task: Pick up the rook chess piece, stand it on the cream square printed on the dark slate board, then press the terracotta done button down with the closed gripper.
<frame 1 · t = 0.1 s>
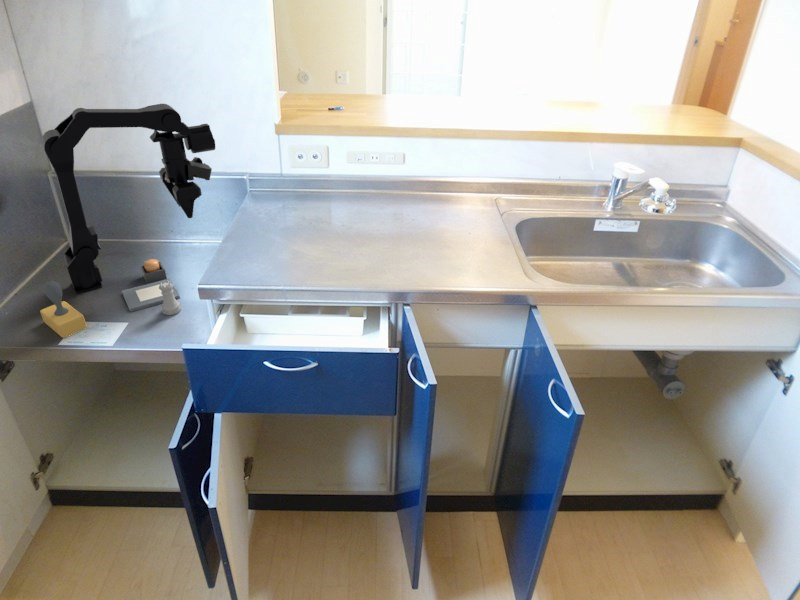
hand: (185, 211, 154), 15 cm above the countertop, tool pointing down, fingers open, 9 cm apart
rubber stamp: (66, 326, 134), on the countertop
done button: (151, 266, 151), point 4 cm above the countertop, slide at 0.0 cm
button housing: (154, 277, 153), on the countertop
rook chess piece: (172, 311, 139), on the countertop
slate board: (150, 295, 145), on the countertop
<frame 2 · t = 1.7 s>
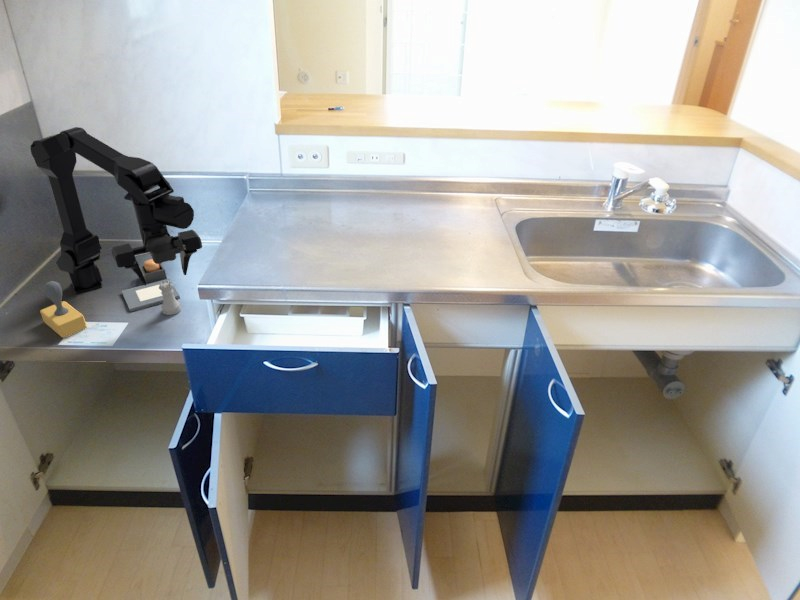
hand: (165, 279, 134), 9 cm above the countertop, tool pointing down, fingers open, 9 cm apart
nothing on the countertop moved.
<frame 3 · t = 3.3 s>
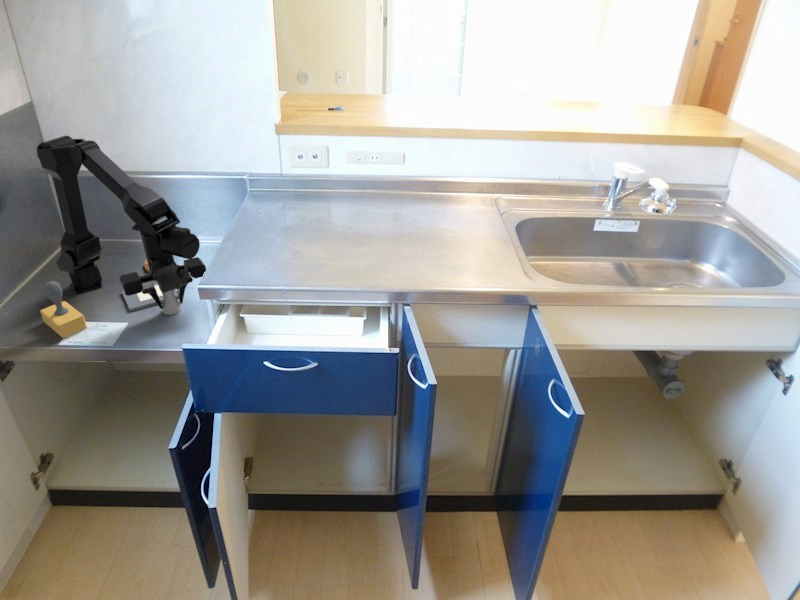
hand: (171, 305, 138), 2 cm above the countertop, tool pointing down, fingers closed on rook chess piece, 4 cm apart
rook chess piece: (172, 311, 139), on the countertop, touching gripper
everything else where it was.
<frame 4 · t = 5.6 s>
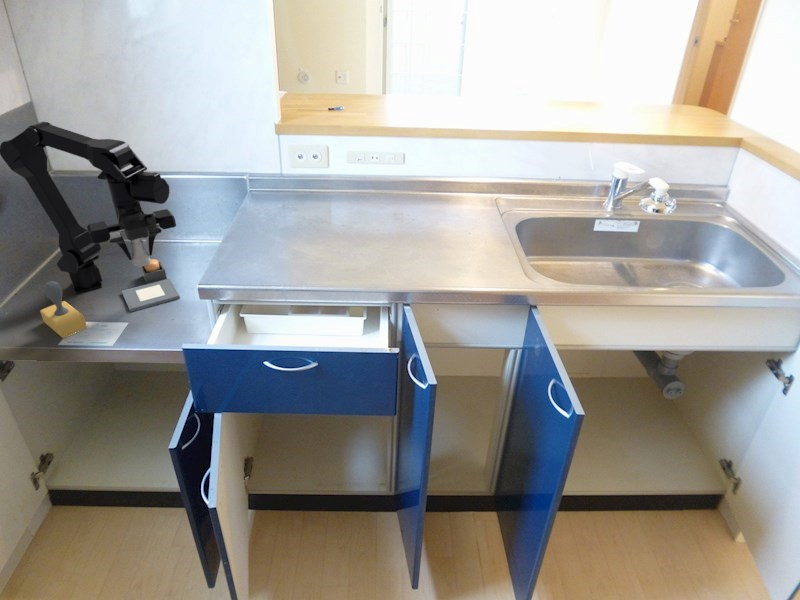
hand: (140, 257, 139), 11 cm above the countertop, tool pointing down, fingers closed on rook chess piece, 4 cm apart
rook chess piece: (142, 263, 140), point 9 cm above the countertop, touching gripper
everything else where it was.
when the fingers open (4 cm above the countertop, at t = 7.6 s): rook chess piece drops 1 cm, resting on slate board.
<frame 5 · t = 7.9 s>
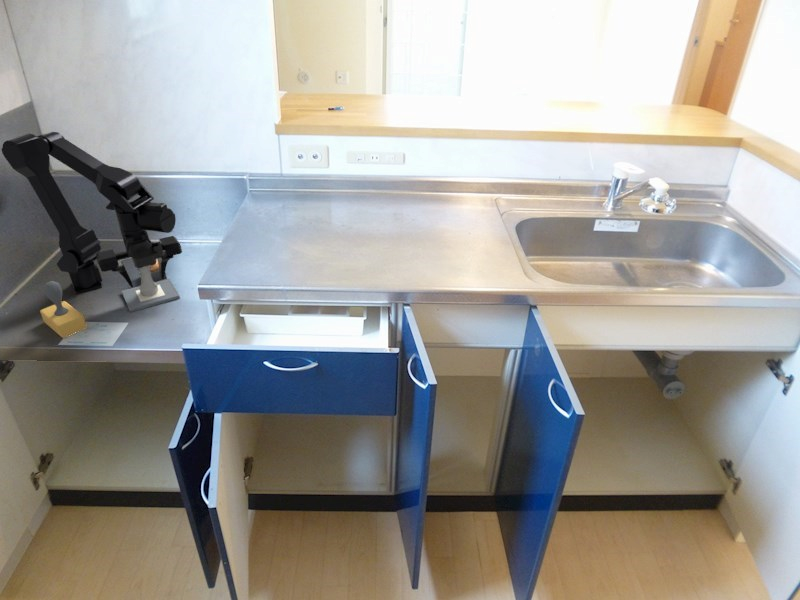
hand: (147, 282, 143), 4 cm above the countertop, tool pointing down, fingers open, 7 cm apart
rook chess piece: (149, 293, 144), point 1 cm above the countertop, touching slate board
everything else where it was.
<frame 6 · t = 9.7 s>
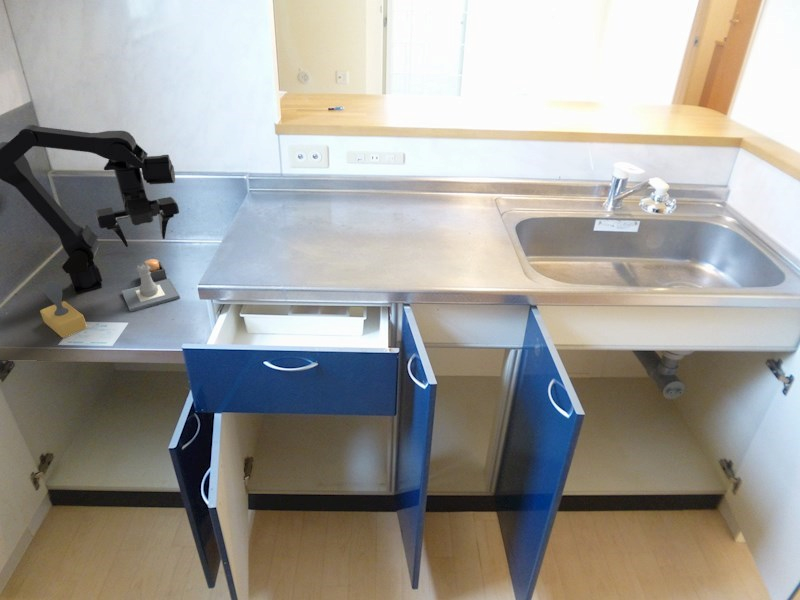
hand: (145, 242, 146), 11 cm above the countertop, tool pointing down, fingers open, 9 cm apart
nothing on the countertop moved.
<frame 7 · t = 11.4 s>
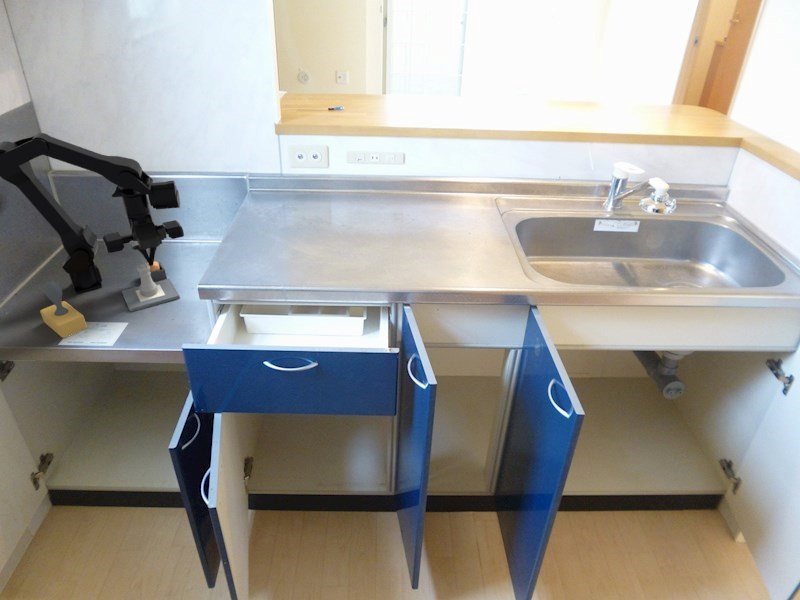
hand: (151, 264, 150), 4 cm above the countertop, tool pointing down, fingers closed, pressing on done button
done button: (152, 268, 151), point 3 cm above the countertop, slide at 0.7 cm, touching gripper
everything else where it was.
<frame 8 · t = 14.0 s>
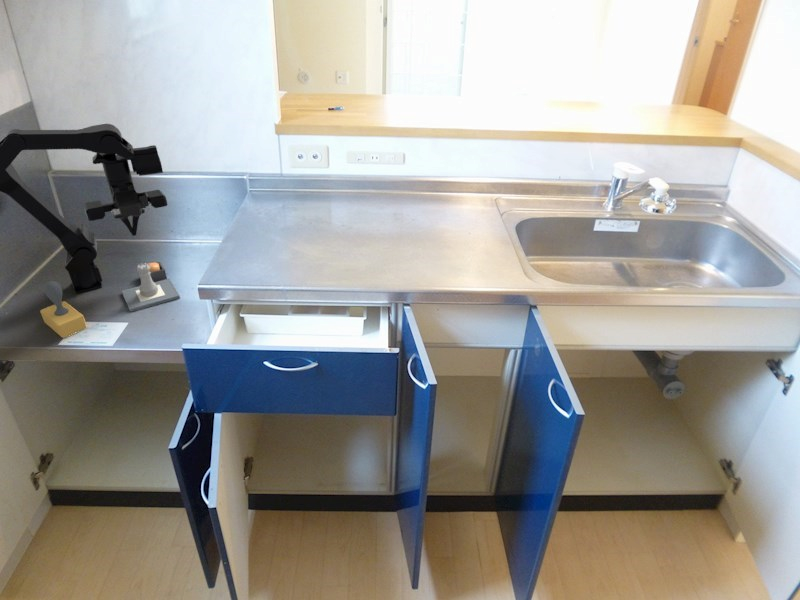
hand: (134, 235, 147), 12 cm above the countertop, tool pointing down, fingers closed
done button: (152, 269, 151), point 2 cm above the countertop, slide at 1.0 cm
everything else where it was.
at the end: rook chess piece 0.2 cm off-centre on the slate board, point 0.7 cm above the slate board's base; rook chess piece tilted 0°; done button slide at 1.0 cm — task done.
